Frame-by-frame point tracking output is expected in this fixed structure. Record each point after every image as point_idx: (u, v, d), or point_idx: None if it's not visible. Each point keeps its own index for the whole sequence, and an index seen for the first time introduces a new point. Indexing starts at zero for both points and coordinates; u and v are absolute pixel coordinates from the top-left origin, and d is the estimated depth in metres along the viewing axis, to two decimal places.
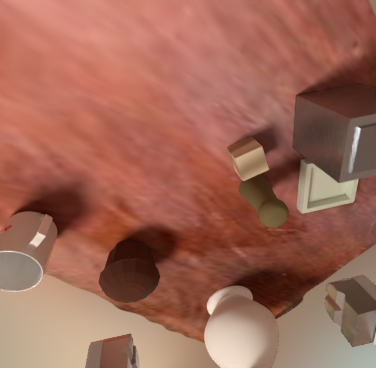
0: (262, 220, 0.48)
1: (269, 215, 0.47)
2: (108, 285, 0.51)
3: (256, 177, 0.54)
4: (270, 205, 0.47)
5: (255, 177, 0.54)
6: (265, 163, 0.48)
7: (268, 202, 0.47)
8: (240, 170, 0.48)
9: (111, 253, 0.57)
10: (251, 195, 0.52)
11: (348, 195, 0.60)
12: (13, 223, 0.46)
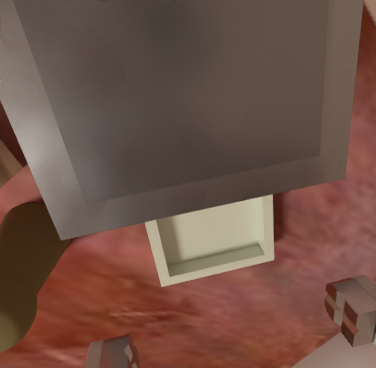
0: None
1: None
2: None
3: (22, 211, 0.23)
4: None
5: (21, 211, 0.23)
6: None
7: None
8: None
9: None
10: None
11: (261, 246, 0.29)
12: None
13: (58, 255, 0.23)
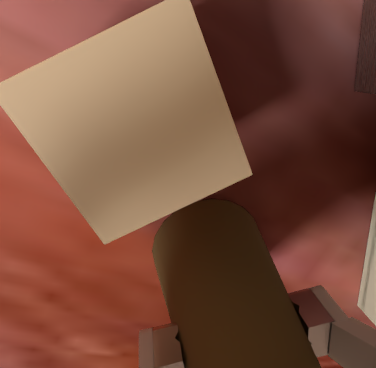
0: None
1: None
2: None
3: (210, 215, 0.13)
4: None
5: (206, 215, 0.13)
6: (227, 134, 0.08)
7: None
8: (65, 179, 0.07)
9: None
10: (175, 307, 0.11)
11: None
12: None
13: None
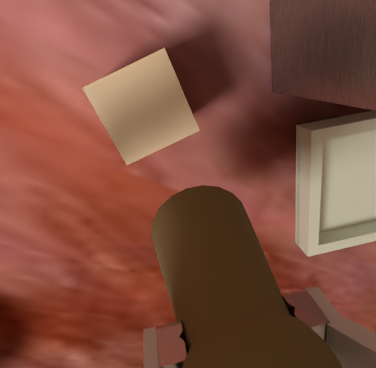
0: None
1: None
2: None
3: (200, 199, 0.15)
4: None
5: (197, 199, 0.15)
6: (185, 109, 0.16)
7: (224, 352, 0.08)
8: (110, 129, 0.16)
9: None
10: (170, 276, 0.12)
11: None
12: None
13: None
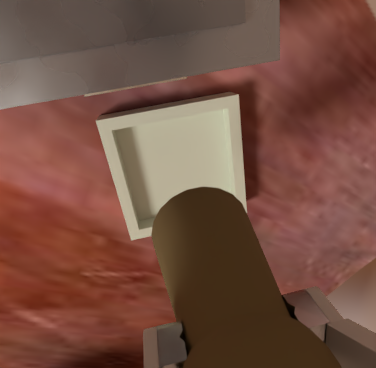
0: None
1: None
2: None
3: (201, 200, 0.15)
4: None
5: (197, 200, 0.15)
6: None
7: (225, 355, 0.08)
8: None
9: None
10: (170, 277, 0.12)
11: None
12: None
13: None
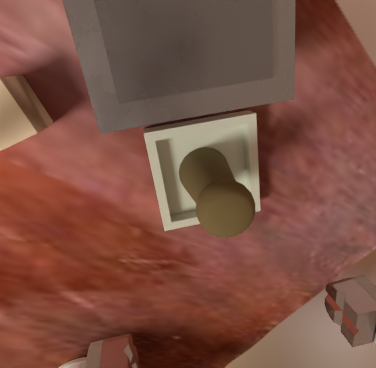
0: (202, 223, 0.23)
1: (212, 210, 0.22)
2: None
3: (204, 152, 0.30)
4: (214, 191, 0.23)
5: (202, 152, 0.30)
6: (23, 118, 0.24)
7: (212, 185, 0.23)
8: None
9: None
10: (190, 181, 0.28)
11: None
12: None
13: None
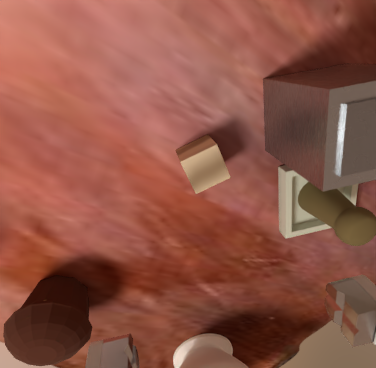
0: (343, 236, 0.36)
1: (354, 229, 0.34)
2: (11, 342, 0.36)
3: None
4: (354, 216, 0.35)
5: None
6: (224, 168, 0.35)
7: (350, 212, 0.35)
8: (190, 178, 0.35)
9: (31, 294, 0.43)
10: (319, 205, 0.40)
11: None
12: None
13: None
